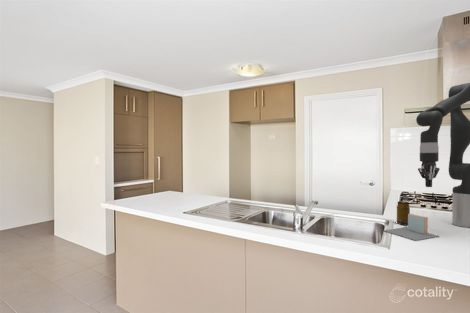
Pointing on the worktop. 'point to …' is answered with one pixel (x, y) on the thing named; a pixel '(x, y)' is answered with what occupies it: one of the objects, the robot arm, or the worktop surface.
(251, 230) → the worktop surface
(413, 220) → the tile
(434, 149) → the robot arm
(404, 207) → the condiment
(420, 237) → the mat
